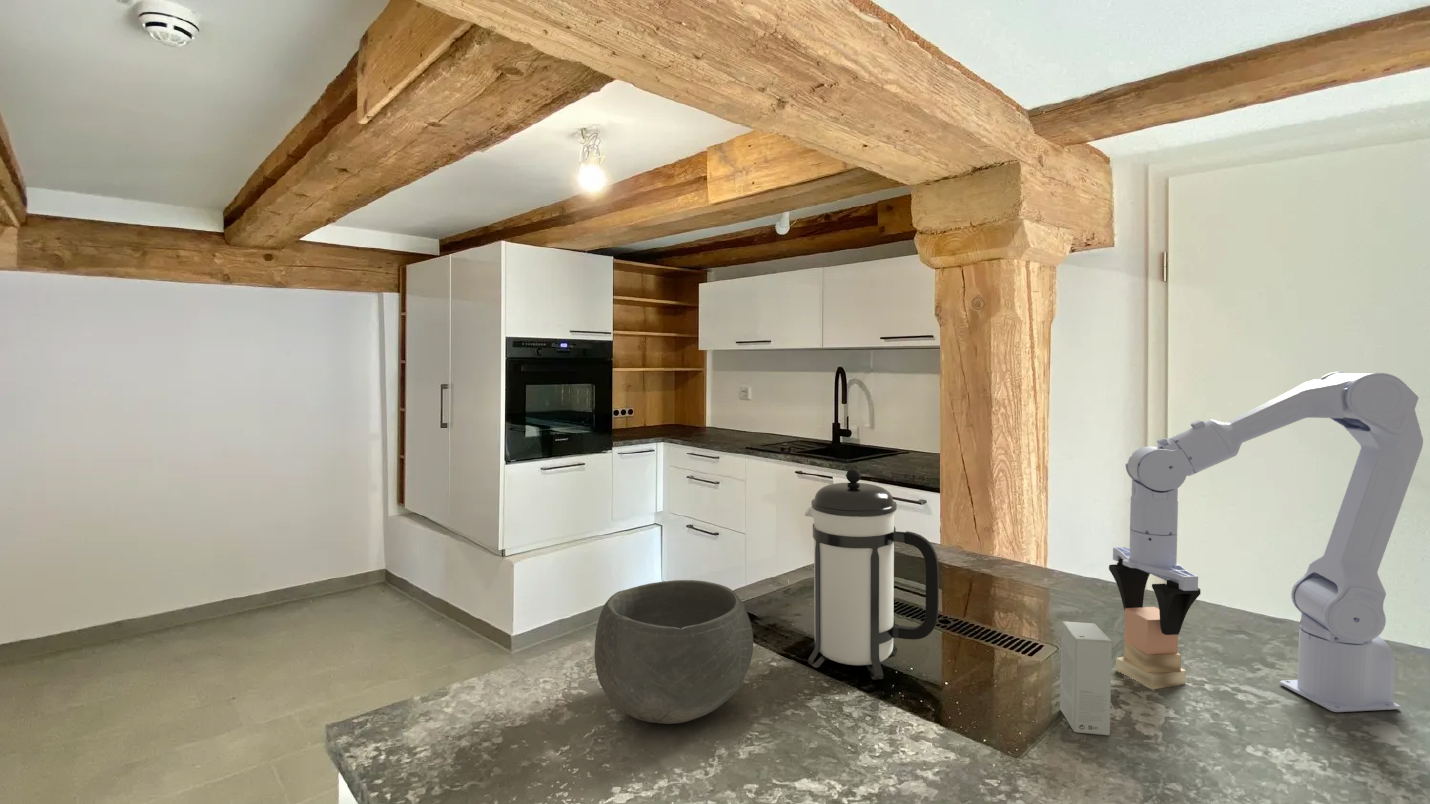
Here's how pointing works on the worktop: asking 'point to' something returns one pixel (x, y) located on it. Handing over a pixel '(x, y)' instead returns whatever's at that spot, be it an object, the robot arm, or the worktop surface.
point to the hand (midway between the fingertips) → (1150, 623)
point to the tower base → (1150, 675)
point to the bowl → (672, 649)
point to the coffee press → (861, 575)
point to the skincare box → (1085, 677)
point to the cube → (1148, 631)
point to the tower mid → (1153, 660)
